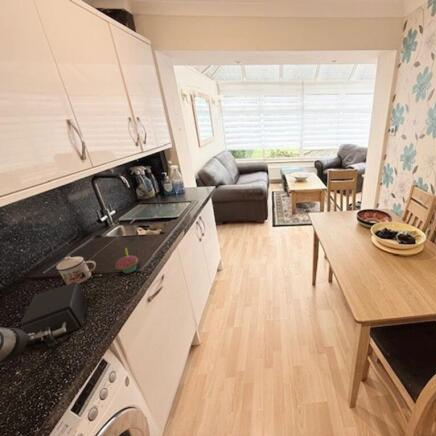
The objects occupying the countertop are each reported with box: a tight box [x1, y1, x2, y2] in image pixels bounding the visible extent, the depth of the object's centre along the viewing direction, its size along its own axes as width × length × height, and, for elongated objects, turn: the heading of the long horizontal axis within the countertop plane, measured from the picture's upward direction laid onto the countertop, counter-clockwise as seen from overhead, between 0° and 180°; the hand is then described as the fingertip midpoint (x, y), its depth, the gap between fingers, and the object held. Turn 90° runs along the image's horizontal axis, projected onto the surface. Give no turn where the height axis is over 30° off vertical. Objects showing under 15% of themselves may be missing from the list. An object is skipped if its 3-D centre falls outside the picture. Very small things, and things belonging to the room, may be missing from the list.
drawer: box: [22, 309, 80, 339], centre depth 78 cm, size 17×10×8 cm, turn 33°
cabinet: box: [19, 282, 88, 328], centre depth 81 cm, size 15×12×10 cm
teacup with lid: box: [55, 255, 97, 285], centre depth 102 cm, size 12×9×12 cm
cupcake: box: [114, 247, 139, 274], centre depth 105 cm, size 9×8×12 cm
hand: (50, 342), depth 71 cm, fingers closed
